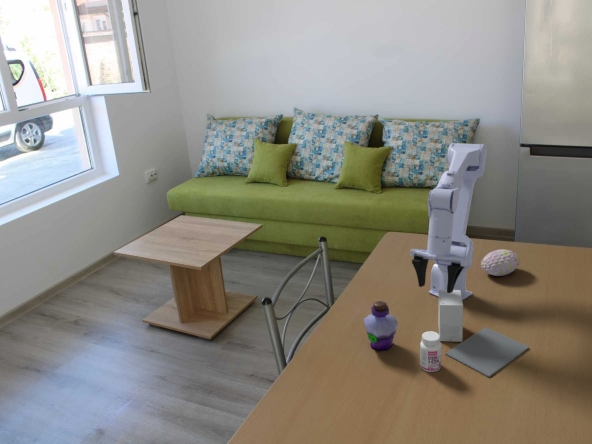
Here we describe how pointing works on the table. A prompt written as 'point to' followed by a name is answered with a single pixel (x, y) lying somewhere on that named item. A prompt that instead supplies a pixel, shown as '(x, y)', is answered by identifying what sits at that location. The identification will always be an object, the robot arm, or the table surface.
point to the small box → (450, 315)
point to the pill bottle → (430, 351)
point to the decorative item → (500, 262)
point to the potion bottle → (380, 326)
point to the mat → (487, 351)
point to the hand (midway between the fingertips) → (435, 289)
